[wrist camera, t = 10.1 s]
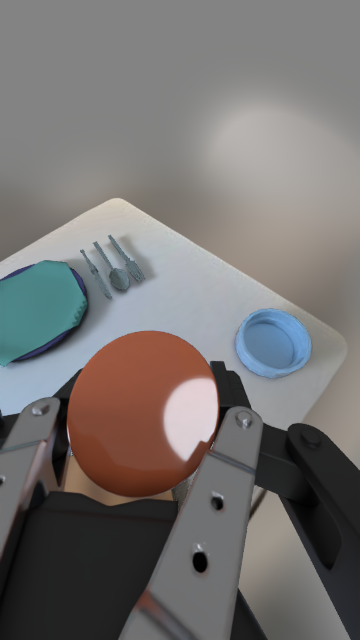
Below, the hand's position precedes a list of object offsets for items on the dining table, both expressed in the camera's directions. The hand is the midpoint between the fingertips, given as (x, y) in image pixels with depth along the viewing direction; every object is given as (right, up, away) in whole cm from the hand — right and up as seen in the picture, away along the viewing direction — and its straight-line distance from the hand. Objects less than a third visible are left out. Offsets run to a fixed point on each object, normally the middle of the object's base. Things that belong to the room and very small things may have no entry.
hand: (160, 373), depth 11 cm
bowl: (+14, -1, +19) cm, 24 cm away
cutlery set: (-21, +7, +26) cm, 34 cm away
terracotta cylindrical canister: (0, -4, +3) cm, 5 cm away
